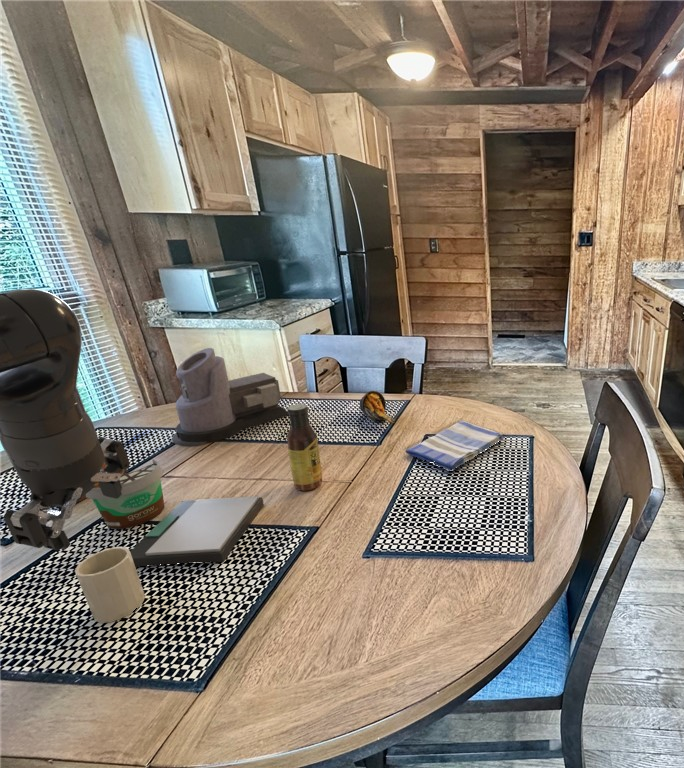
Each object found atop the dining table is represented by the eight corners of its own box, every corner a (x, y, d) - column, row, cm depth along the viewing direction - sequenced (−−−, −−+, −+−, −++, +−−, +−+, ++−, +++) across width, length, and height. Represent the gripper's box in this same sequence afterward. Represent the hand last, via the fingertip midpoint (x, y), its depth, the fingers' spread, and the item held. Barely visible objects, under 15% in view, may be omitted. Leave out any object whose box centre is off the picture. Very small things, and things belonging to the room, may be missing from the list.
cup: (82, 624, 62) (63, 577, 59) (113, 592, 68) (97, 548, 65) (127, 621, 63) (110, 574, 60) (153, 589, 69) (139, 545, 66)
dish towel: (505, 440, 123) (505, 432, 122) (452, 475, 105) (452, 465, 104) (460, 425, 132) (460, 417, 131) (404, 454, 113) (403, 445, 112)
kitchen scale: (124, 568, 73) (120, 556, 72) (184, 508, 89) (181, 498, 88) (223, 562, 75) (220, 550, 74) (263, 505, 91) (261, 494, 90)
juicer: (185, 451, 111) (162, 364, 103) (163, 434, 120) (140, 352, 111) (295, 416, 135) (283, 342, 126) (269, 404, 143) (257, 334, 135)
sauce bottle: (321, 490, 97) (310, 412, 90) (291, 494, 95) (278, 414, 88) (324, 475, 103) (314, 401, 96) (296, 478, 101) (284, 403, 94)
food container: (118, 540, 79) (103, 496, 76) (98, 532, 81) (82, 488, 78) (186, 504, 90) (175, 464, 87) (167, 497, 92) (155, 458, 89)
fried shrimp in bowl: (376, 394, 143) (410, 389, 132) (374, 426, 141) (408, 423, 130) (352, 390, 135) (386, 385, 125) (349, 424, 134) (384, 421, 123)
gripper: (73, 398, 56) (102, 475, 65) (-49, 480, 44) (7, 559, 53) (133, 414, 57) (153, 487, 66) (30, 498, 45) (71, 572, 55)
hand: (88, 519), depth 60 cm, fingers open, 8 cm apart
